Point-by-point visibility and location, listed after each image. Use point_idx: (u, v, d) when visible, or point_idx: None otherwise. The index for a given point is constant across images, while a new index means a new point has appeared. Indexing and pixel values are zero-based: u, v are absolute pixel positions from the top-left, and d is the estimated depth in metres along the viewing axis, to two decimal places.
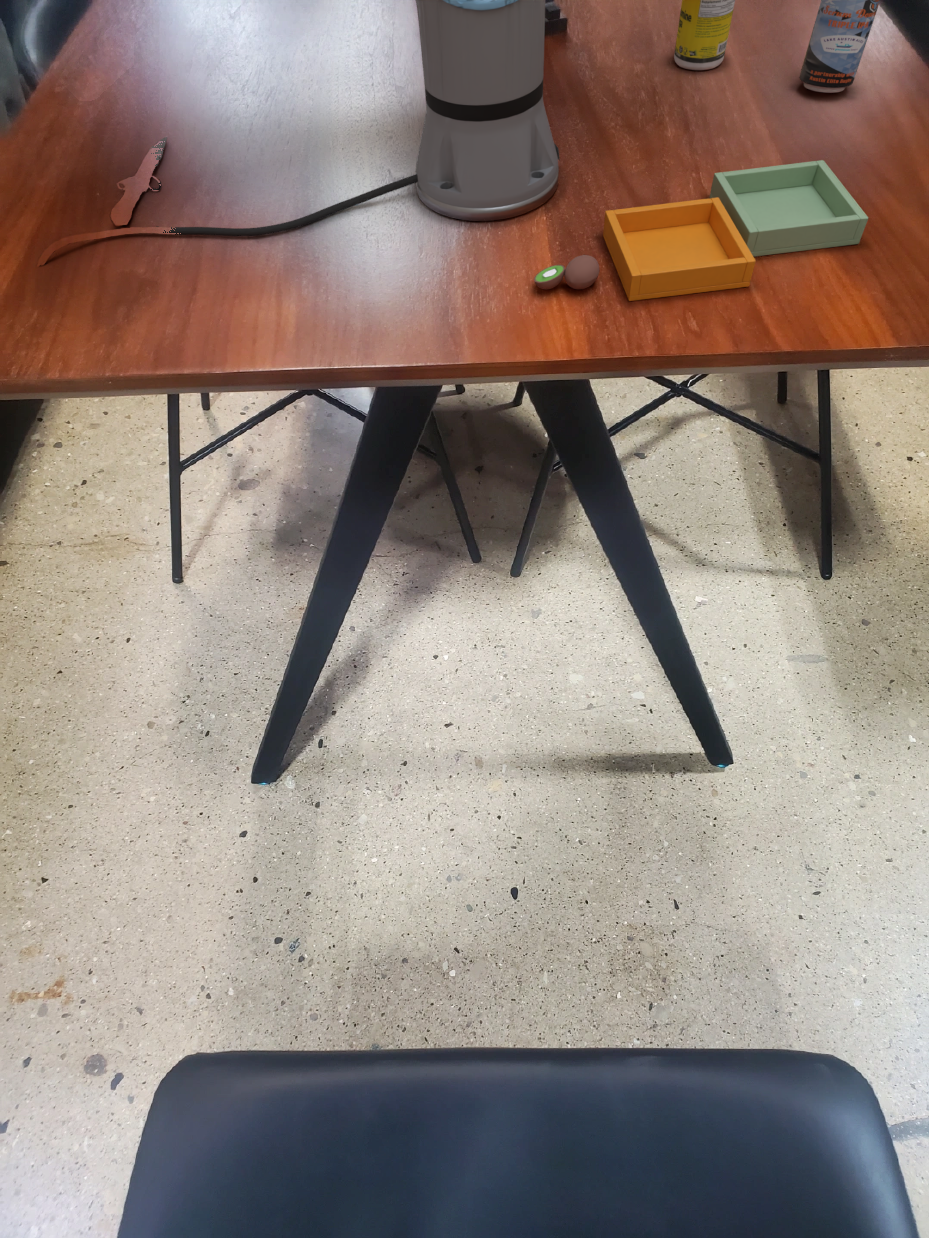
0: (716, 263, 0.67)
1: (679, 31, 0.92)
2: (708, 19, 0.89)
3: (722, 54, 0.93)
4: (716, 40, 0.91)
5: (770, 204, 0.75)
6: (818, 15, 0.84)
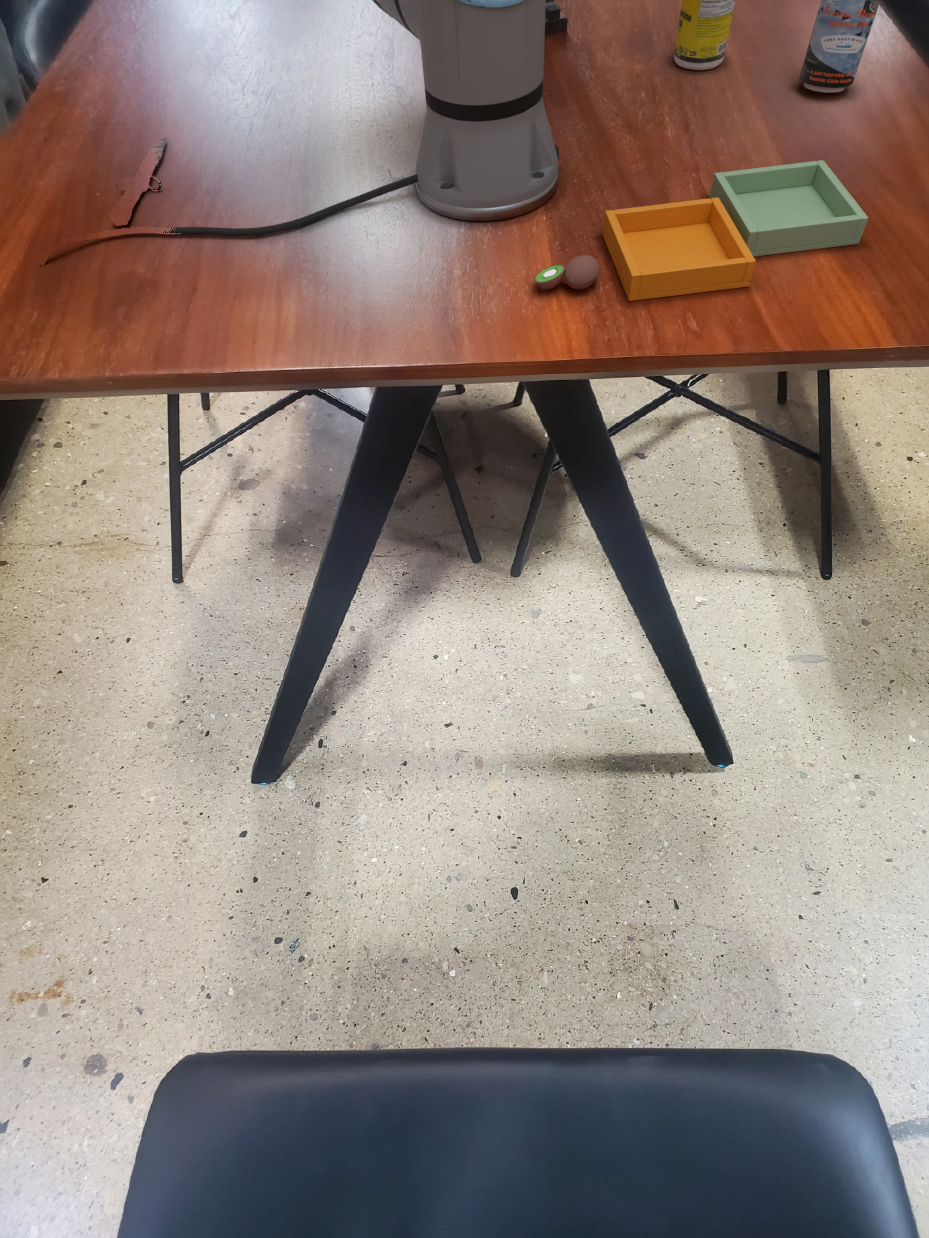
0: (716, 263, 0.67)
1: (679, 31, 0.92)
2: (708, 19, 0.89)
3: (722, 54, 0.93)
4: (716, 40, 0.91)
5: (770, 204, 0.75)
6: (818, 15, 0.84)
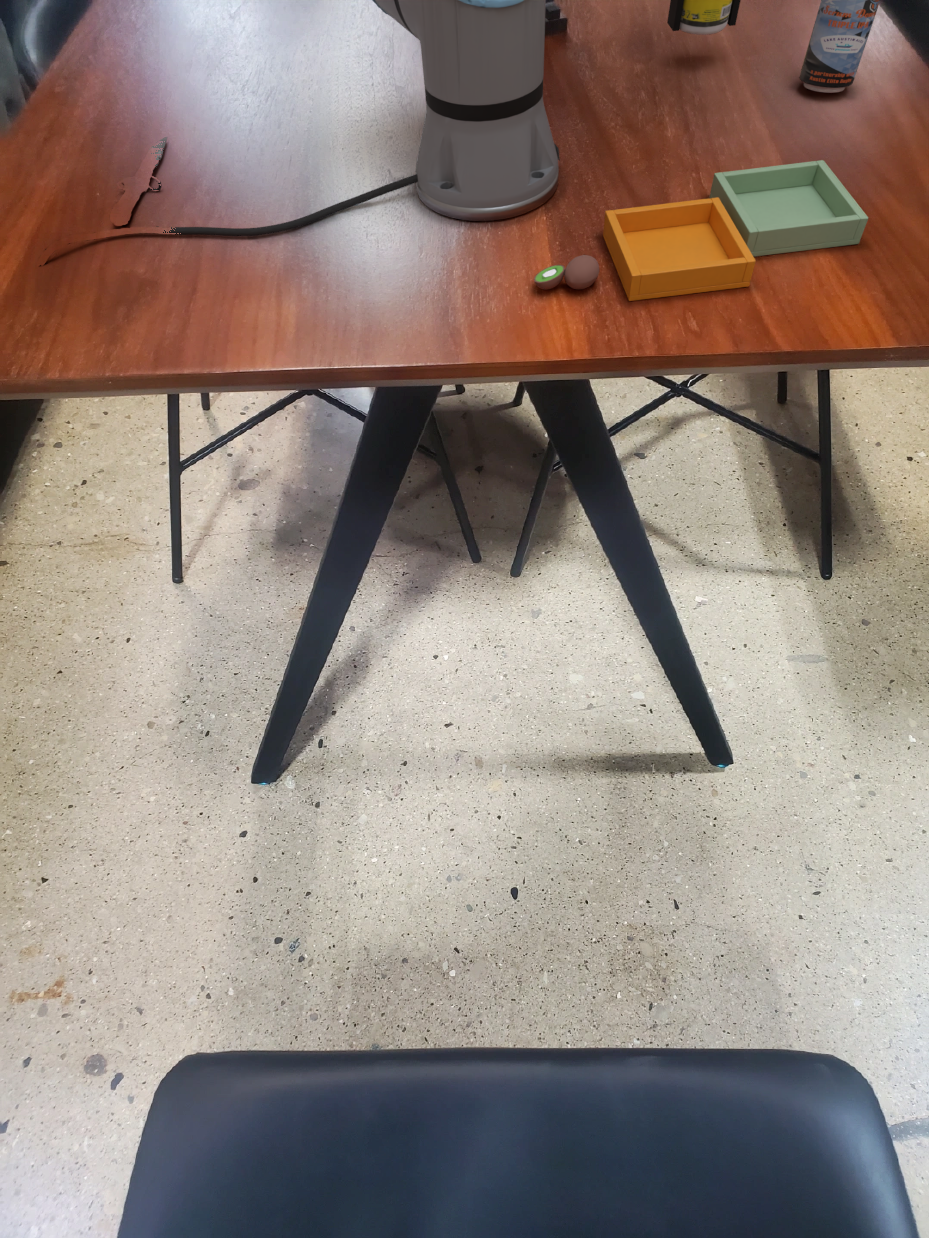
0: (716, 263, 0.67)
1: None
2: None
3: (726, 18, 0.90)
4: (720, 3, 0.88)
5: (770, 204, 0.75)
6: (818, 15, 0.84)
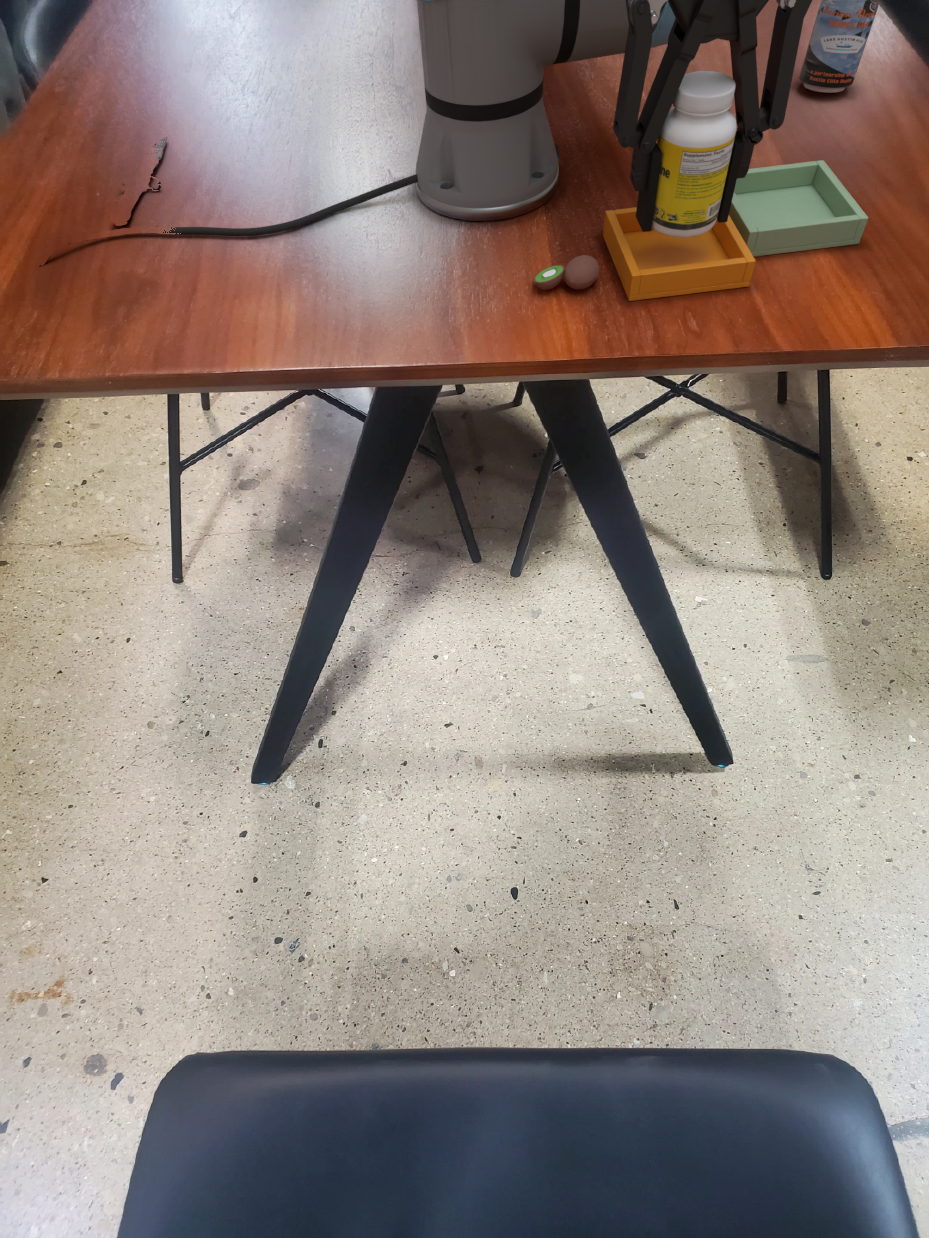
0: (716, 263, 0.67)
1: None
2: (694, 176, 0.62)
3: (714, 217, 0.66)
4: (705, 202, 0.64)
5: (770, 204, 0.75)
6: (818, 15, 0.84)
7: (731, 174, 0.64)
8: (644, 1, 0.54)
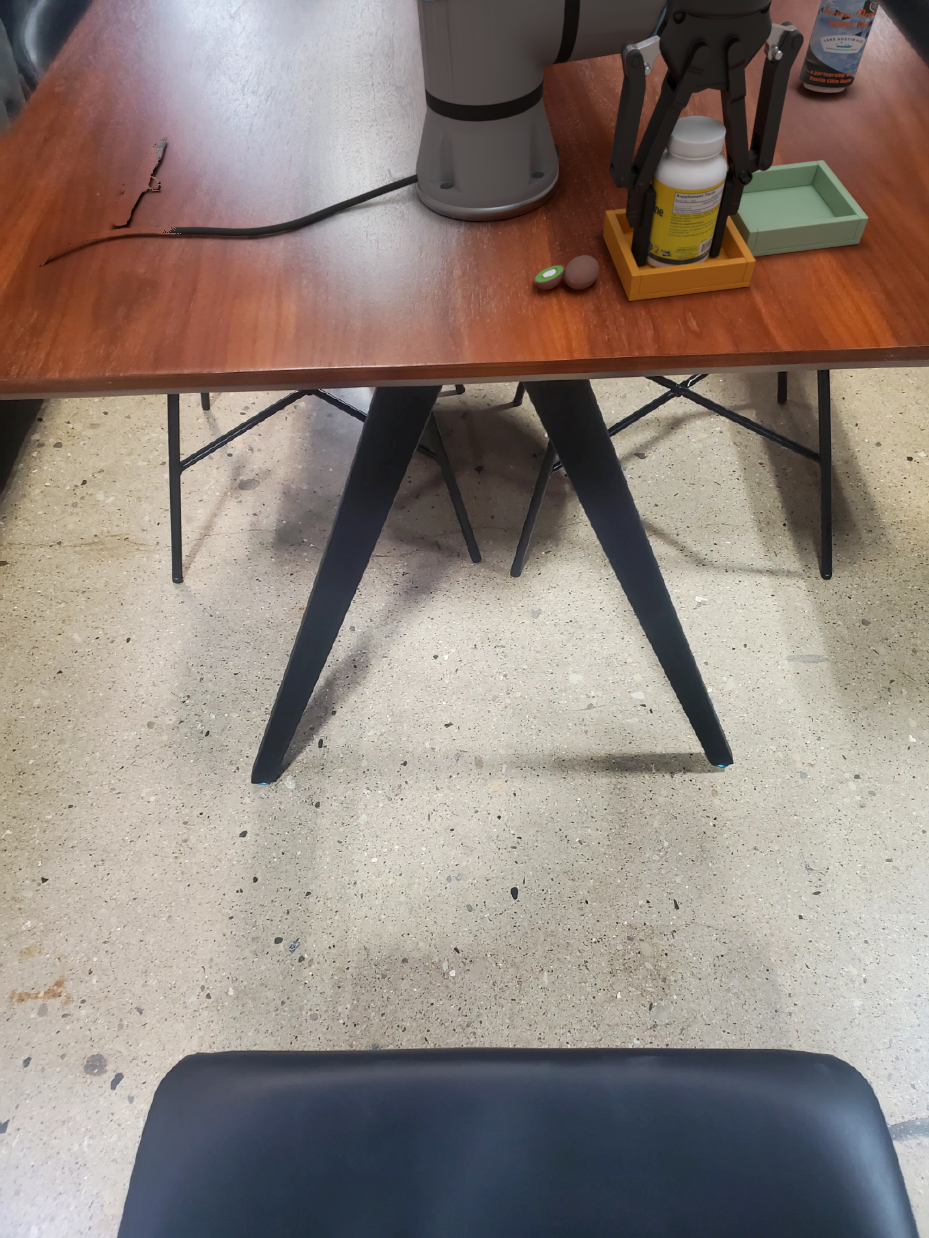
0: (716, 263, 0.67)
1: None
2: (686, 216, 0.65)
3: (706, 252, 0.69)
4: (697, 239, 0.67)
5: (770, 204, 0.75)
6: (818, 15, 0.84)
7: (722, 212, 0.67)
8: (638, 55, 0.56)
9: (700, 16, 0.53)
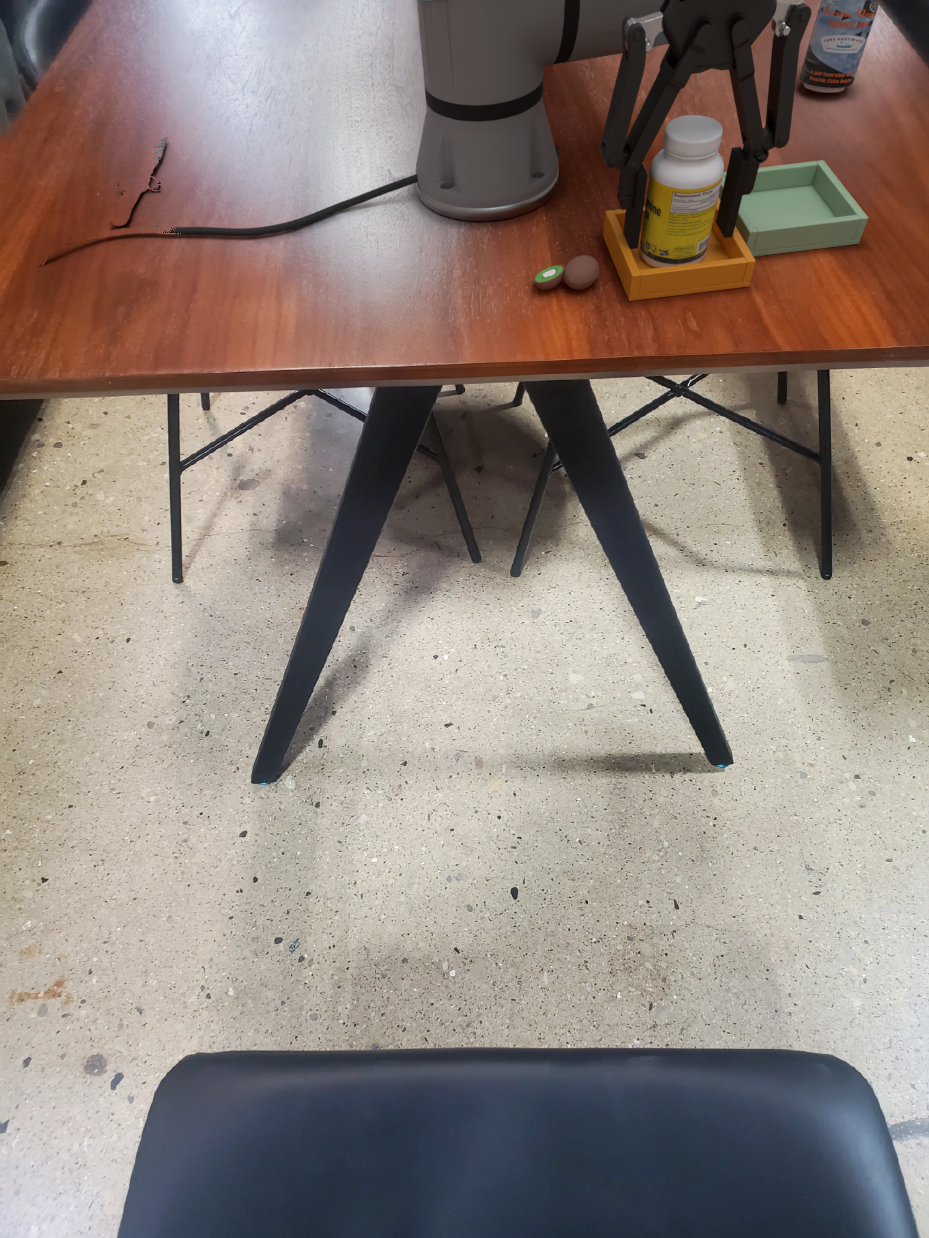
0: (716, 263, 0.67)
1: (645, 223, 0.68)
2: (684, 215, 0.65)
3: (704, 251, 0.69)
4: (695, 238, 0.67)
5: (770, 204, 0.75)
6: (818, 15, 0.84)
7: (737, 191, 0.66)
8: (640, 29, 0.55)
9: None
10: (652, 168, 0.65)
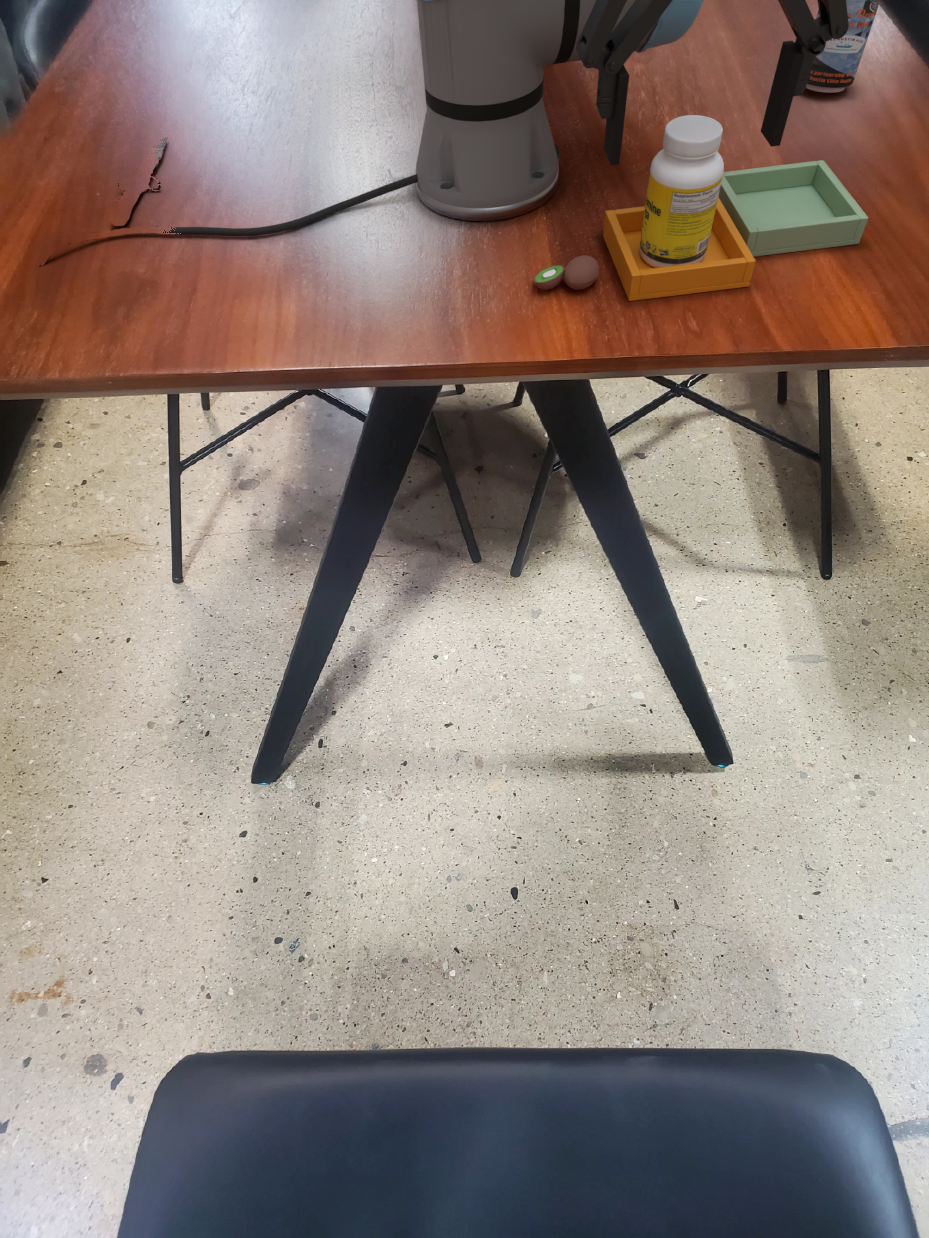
0: (716, 263, 0.67)
1: (645, 223, 0.68)
2: (684, 215, 0.65)
3: (704, 251, 0.69)
4: (695, 238, 0.67)
5: (770, 204, 0.75)
6: (818, 15, 0.84)
7: (788, 90, 0.60)
8: None
9: None
10: (652, 168, 0.65)
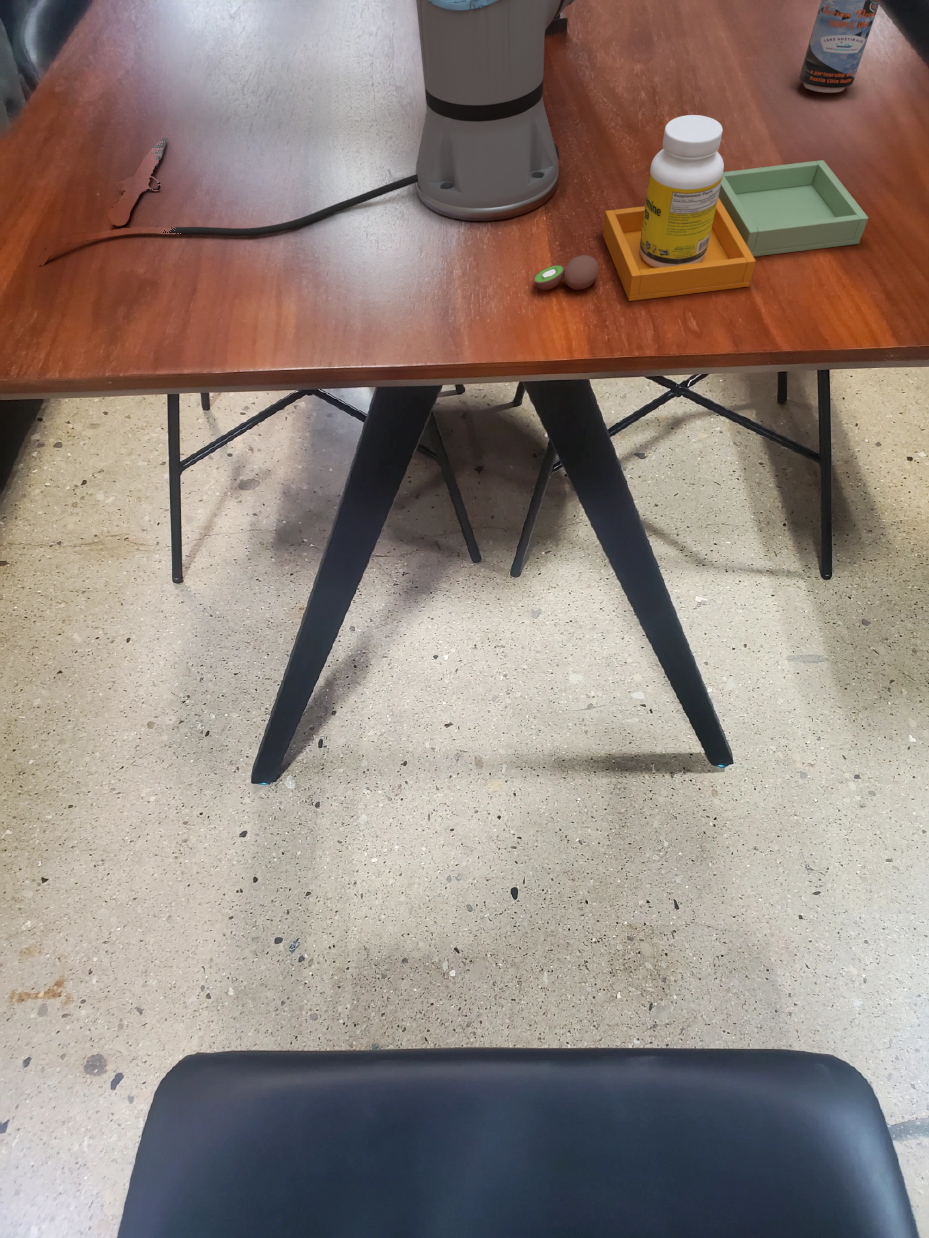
0: (716, 263, 0.67)
1: (645, 223, 0.68)
2: (684, 215, 0.65)
3: (704, 251, 0.69)
4: (695, 238, 0.67)
5: (770, 204, 0.75)
6: (818, 15, 0.84)
7: None
8: None
9: None
10: (652, 168, 0.65)
